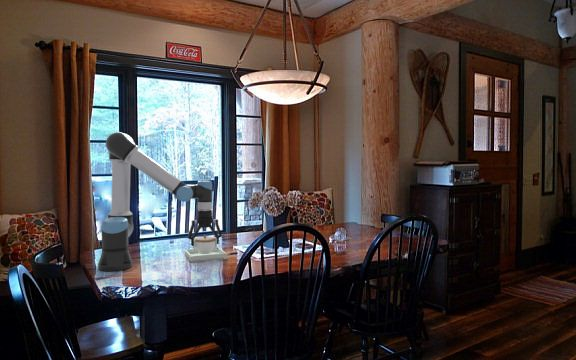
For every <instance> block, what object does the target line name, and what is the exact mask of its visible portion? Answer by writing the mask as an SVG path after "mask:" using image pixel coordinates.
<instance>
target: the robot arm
mask: <svg viewBox="0 0 576 360" xmlns="http://www.w3.org/2000/svg"><path fill="white" fill-rule="evenodd" d="M134 140H135V139H134V138H132V136H130V135H129V134H128V133H123V132H122V131H121V132H120V131H115V132H113V133H110V134H109V135H108V136H107V138H106V140H105V147H106V150H107V151H108V153H109V154H108V159H109V161H110V162H111V164H112V165H111V166H112V167H111V168H112V169H111V204H110V205H111V208H110V209H111V211H109V212H108V213H107V218H104V219H103V220H102V221H101V225H100V230H101V255H100V258H99V260H98V264H97V270H99V271H101V272H117V271H118V272H119V271H123V270H129V269H131V268H132V267H133V258H132V256H131V254H130V252H129V238H130V236H131V235H132V234H133V232H134V229H135V228H134V227H135V226H134V222H133V219H134V218H133V212H132V211H131V210H130V209H131V208H130V206H131V205H130V204H131V200H130V199H131V167H132V166H133V167H135V168H136V169H137V170H139V171H140V172H142V173H143V174H144V175H145V176H146V177H149V179H151V180H153V181H154V182H156V183H157V184H158V185H160V186H161V187H162V188H163V189H165V190H167V192H169V193H170V194H172V195H173V198H174V199H175V200H179V201H181V202H184V203H185V202H189V201H190V200H196V199H197V219H191V224H190V228H189V231H188V233H187V236H186V237H187V239H188V240H190V245H191V247H192V249H193V252H194V253H195V249H196V247H195V238H197V236H198V234H199V232H200V230H201V229H203V228H208V229H210V230H211V232H212V234H213V235H214V238H215V246H214V250H215V251H217V247H218V245H219V243H220V240H219V239H220V238H222V237H223V234H222V231H221V229H220V225H219V219H218V218H215V219H213V210H212V209H213V184H212V183H213V182H212V181H211V180H198V181H197V184H186V183H184V182H183V181H182V180H181V179H179V178H178V177H176V176H175V175H174V174H172V173H171V172H169V171H168V170H167V169H165V167H163V166H161V165H160V164H159V163H157V162H156V161H155V160H154V159H152V158H151V157H149V156H148V155H146V154H145V153H144V152H143V151H141V150H140V149H139V146H138V145H137V144H136V143H135V141H134ZM213 223H214V226H215V228H216V230H215V229H214V228H213V225H212V224H213ZM196 224H198V225H197V227H196V228H195V226H196ZM194 229H195V231H194ZM216 231H217V232H216Z"/></svg>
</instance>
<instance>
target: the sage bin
mask: <svg viewBox="0 0 576 360" xmlns="http://www.w3.org/2000/svg"><path fill="white" fill-rule="evenodd" d="M184 257H186V258H187V260H188V262H190V263H198V262H209V261H211V262H212V261H222V260H227V259H228V258H227V257H228V254H227V253H226V251H224V250H223V249H222V248H220V247H219V246H217V251H215V250H214V249H213V251H212V252H211V253H210V254H199V252H198V251H197V250H196V248H195V253H194V252H193V248H188V249H185V248H184Z"/></svg>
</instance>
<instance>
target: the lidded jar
mask: <svg viewBox="0 0 576 360" xmlns="http://www.w3.org/2000/svg"><path fill="white" fill-rule="evenodd" d="M215 238H216V237H215V236H207V235H205V234H204V235H203V236H199V237H195V238H194V239H195V249H196V250H197V251H198V252H199V254H210V253H211V252H212V251H213V249H214V246H215Z"/></svg>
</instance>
